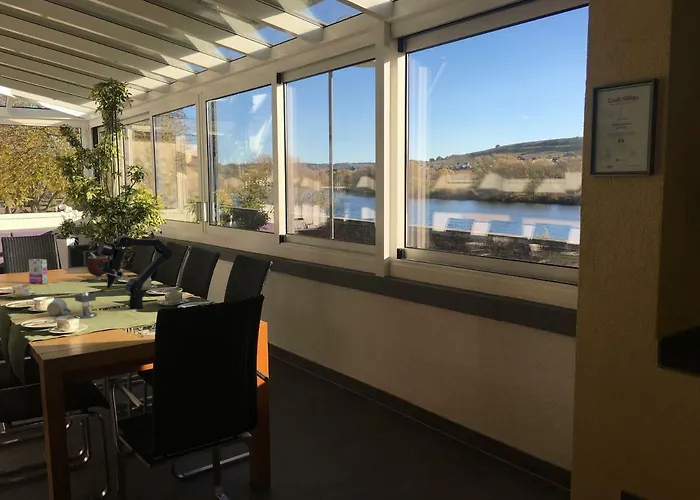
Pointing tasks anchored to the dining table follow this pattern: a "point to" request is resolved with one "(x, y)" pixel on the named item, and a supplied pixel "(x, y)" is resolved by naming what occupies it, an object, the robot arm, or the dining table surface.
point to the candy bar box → (38, 271)
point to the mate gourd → (93, 266)
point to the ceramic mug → (58, 308)
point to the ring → (85, 297)
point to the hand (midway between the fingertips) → (108, 288)
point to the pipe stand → (86, 309)
